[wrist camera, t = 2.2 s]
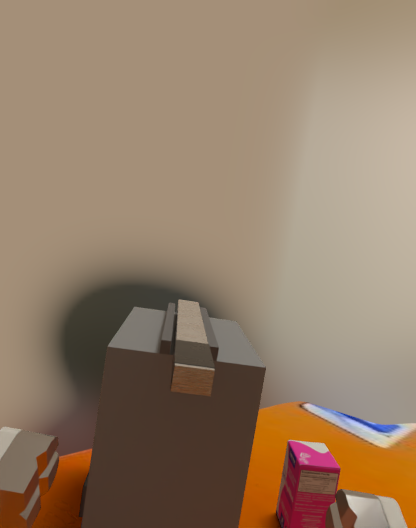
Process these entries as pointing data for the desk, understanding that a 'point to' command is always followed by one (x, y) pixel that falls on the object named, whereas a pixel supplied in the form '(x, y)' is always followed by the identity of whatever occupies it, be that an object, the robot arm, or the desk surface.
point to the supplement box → (307, 485)
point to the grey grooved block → (171, 430)
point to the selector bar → (191, 353)
